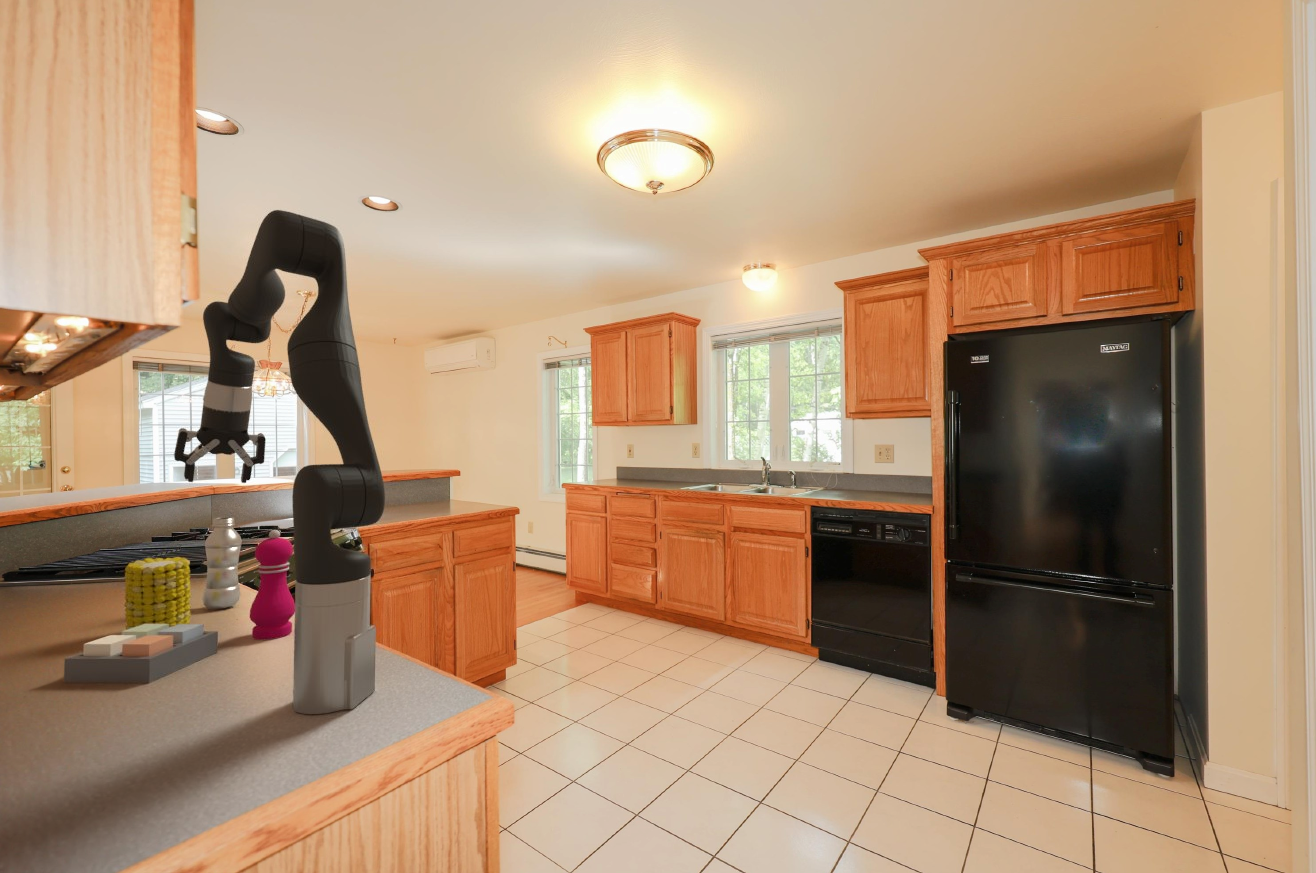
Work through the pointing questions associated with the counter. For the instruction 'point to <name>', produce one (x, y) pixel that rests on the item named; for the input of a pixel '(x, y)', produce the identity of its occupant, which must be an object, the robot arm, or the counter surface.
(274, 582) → the pepper mill
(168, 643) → the key
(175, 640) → the key
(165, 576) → the food
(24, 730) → the counter surface
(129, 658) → the keypad
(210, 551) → the plastic bottle
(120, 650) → the key
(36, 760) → the counter surface
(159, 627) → the key
